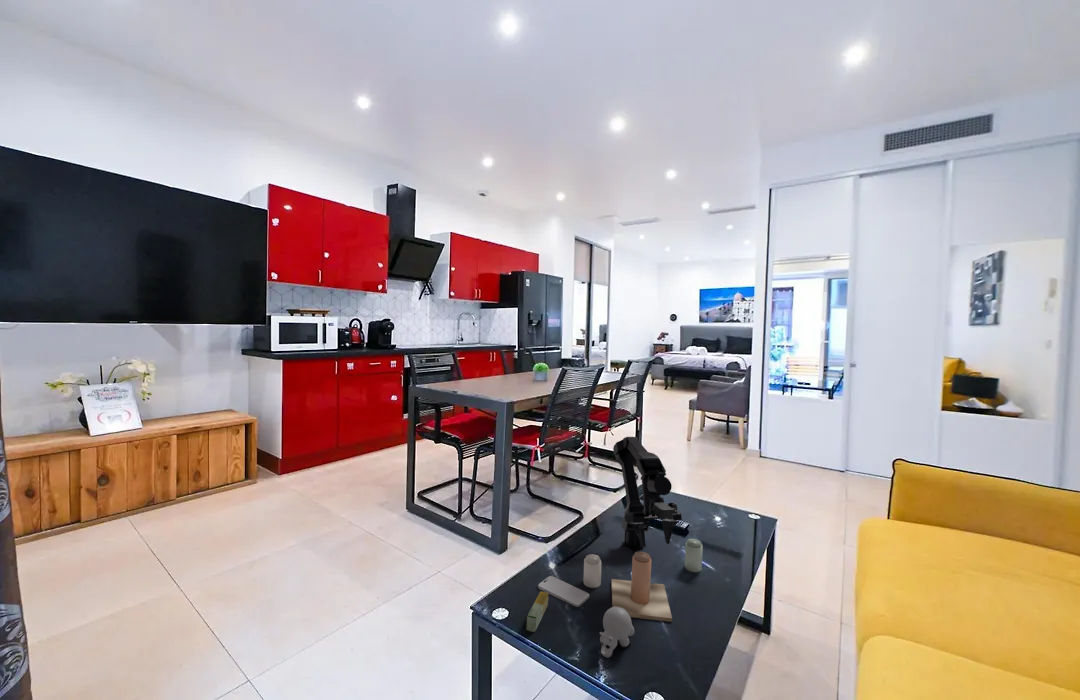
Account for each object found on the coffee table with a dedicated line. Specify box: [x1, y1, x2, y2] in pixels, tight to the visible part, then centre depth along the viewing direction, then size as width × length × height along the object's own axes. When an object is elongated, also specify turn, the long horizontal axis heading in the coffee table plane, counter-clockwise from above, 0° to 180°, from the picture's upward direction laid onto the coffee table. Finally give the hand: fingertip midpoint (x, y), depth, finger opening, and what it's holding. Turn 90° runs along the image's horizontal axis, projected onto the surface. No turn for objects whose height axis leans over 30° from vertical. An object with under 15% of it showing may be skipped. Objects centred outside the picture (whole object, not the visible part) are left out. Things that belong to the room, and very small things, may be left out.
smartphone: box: [537, 575, 591, 608], centre depth 132 cm, size 7×1×15 cm
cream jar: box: [582, 553, 602, 589], centre depth 137 cm, size 5×5×8 cm
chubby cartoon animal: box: [599, 607, 635, 659], centre depth 109 cm, size 7×12×8 cm, turn 141°
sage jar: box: [684, 538, 704, 573], centre depth 147 cm, size 5×5×9 cm
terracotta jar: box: [630, 550, 653, 604], centre depth 127 cm, size 5×5×13 cm
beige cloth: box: [611, 578, 673, 623], centre depth 128 cm, size 16×16×1 cm
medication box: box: [525, 590, 550, 633], centre depth 120 cm, size 12×3×4 cm, turn 163°
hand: (655, 544), depth 141 cm, fingers open, 9 cm apart
